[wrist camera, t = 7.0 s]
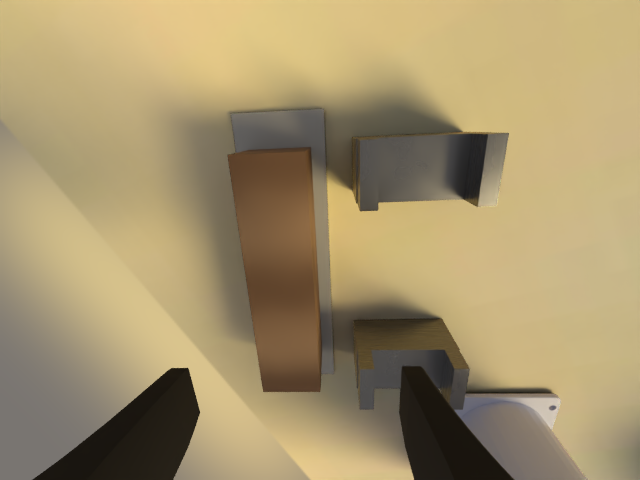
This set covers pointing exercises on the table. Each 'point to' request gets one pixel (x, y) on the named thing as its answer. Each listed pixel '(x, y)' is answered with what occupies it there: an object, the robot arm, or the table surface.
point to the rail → (280, 263)
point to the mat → (310, 132)
